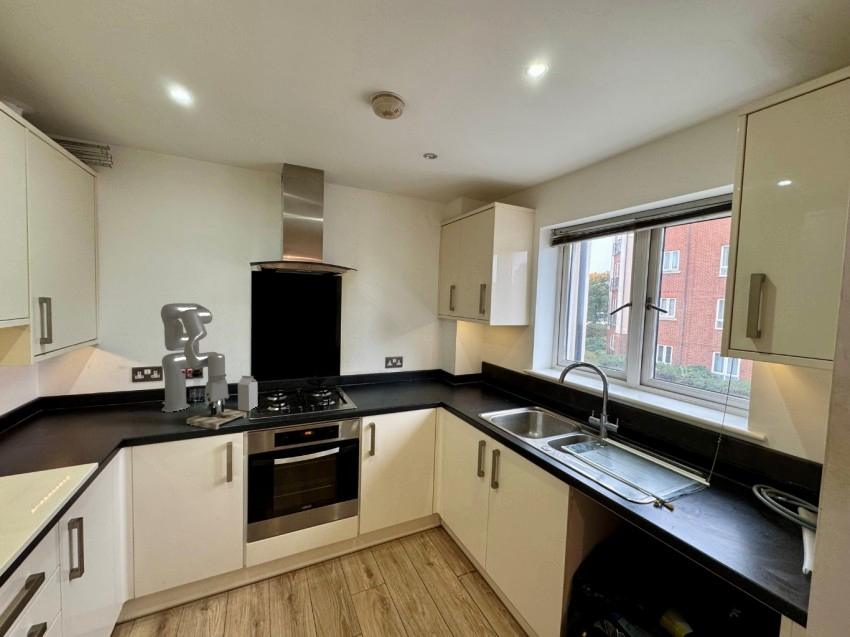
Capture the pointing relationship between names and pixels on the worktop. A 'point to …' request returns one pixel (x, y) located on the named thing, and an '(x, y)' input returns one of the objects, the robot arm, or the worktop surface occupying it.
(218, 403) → the peg
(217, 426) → the keyhole plate
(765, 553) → the worktop surface
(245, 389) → the milk carton
